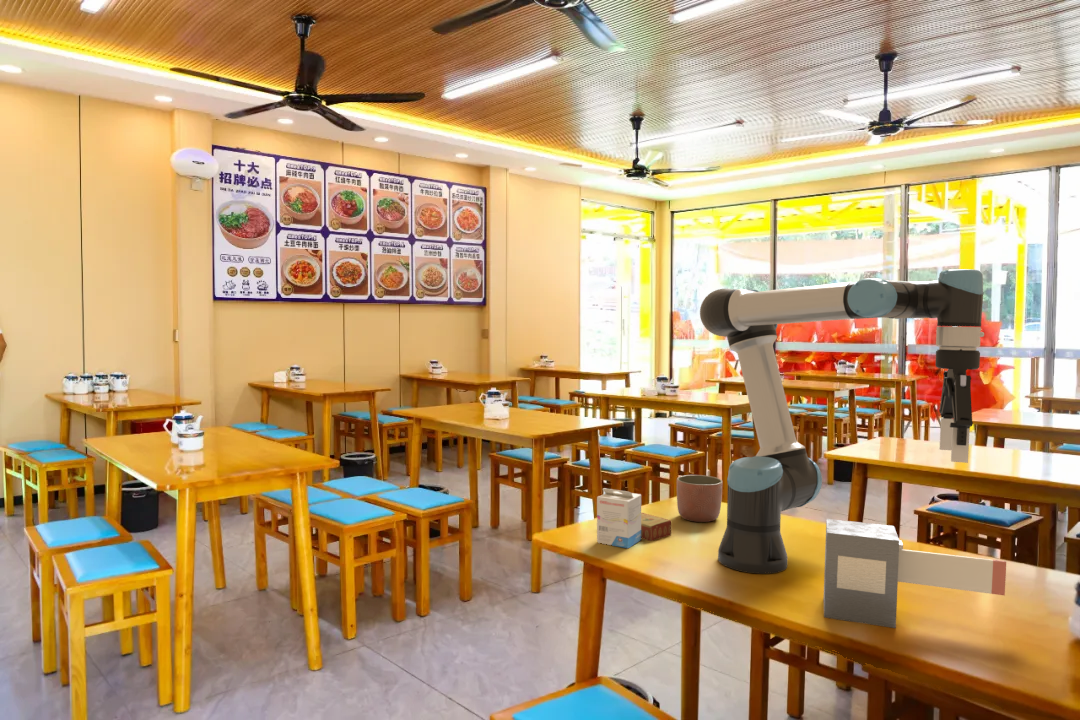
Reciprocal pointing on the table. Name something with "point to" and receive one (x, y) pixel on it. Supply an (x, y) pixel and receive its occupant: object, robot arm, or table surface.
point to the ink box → (618, 518)
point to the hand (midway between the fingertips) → (953, 455)
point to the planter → (699, 497)
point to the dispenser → (861, 572)
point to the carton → (654, 527)
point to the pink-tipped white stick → (952, 571)
